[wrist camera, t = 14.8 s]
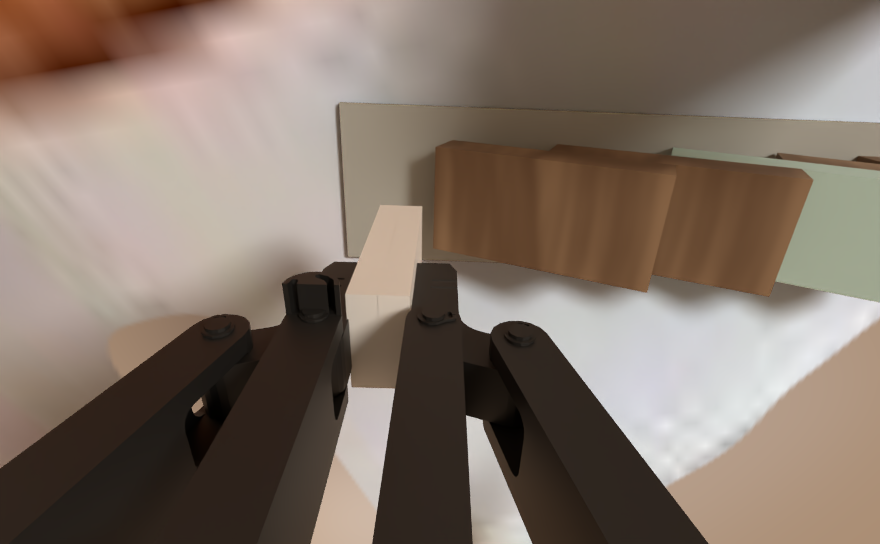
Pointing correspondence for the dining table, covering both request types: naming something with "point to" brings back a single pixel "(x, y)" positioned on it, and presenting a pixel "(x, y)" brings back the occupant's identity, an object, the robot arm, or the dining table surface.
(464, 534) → the robot arm
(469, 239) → the domino
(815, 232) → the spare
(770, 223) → the domino
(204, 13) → the dining table surface
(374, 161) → the runner
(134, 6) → the dining table surface
